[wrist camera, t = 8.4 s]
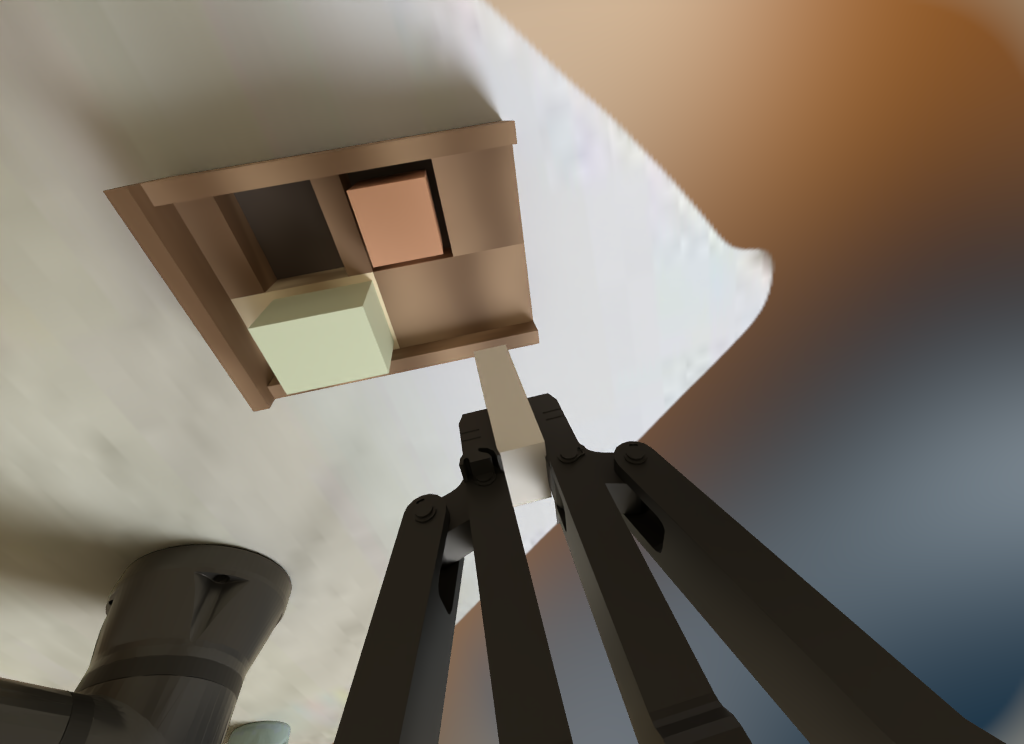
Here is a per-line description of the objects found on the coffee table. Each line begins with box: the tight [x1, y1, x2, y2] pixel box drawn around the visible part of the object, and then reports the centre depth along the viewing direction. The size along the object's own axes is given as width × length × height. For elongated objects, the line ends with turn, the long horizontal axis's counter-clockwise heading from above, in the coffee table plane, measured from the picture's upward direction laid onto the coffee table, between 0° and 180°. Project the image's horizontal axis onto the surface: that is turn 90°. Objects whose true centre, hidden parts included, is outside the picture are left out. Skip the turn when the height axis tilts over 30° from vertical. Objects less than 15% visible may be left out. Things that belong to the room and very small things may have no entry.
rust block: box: [347, 169, 443, 267], centre depth 22 cm, size 4×4×4 cm
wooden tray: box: [103, 121, 539, 411], centre depth 23 cm, size 19×13×5 cm
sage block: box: [248, 281, 394, 395], centre depth 23 cm, size 6×4×4 cm
